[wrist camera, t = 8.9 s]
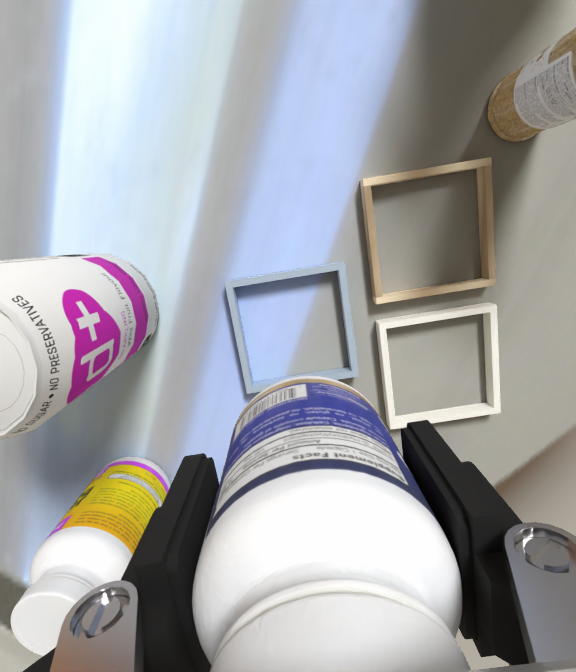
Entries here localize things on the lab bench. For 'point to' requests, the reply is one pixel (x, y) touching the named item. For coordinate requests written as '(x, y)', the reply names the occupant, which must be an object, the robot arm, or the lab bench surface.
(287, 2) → the lab bench surface
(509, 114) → the sprinkles bottle
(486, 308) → the tray white
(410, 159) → the lab bench surface
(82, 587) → the supplement bottle
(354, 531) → the pill bottle
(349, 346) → the tray slate
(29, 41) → the lab bench surface
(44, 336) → the supplement can
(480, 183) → the tray birch
